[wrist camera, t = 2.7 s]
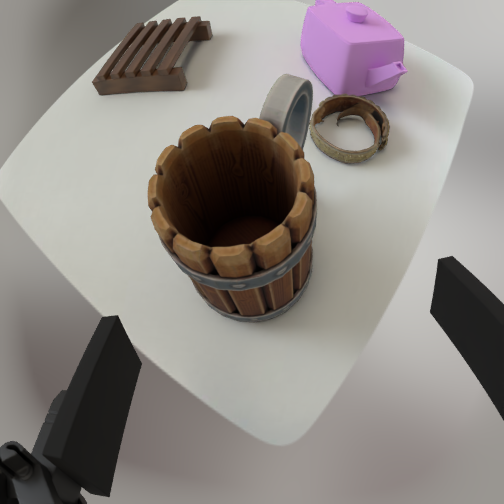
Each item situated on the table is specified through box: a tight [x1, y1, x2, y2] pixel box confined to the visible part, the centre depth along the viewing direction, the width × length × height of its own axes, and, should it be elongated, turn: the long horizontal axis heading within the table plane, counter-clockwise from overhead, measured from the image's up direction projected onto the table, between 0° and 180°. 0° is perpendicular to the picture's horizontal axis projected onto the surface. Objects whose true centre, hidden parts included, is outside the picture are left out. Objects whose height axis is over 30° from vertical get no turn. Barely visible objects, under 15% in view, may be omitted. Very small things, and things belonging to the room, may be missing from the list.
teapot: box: [301, 0, 407, 96], centre depth 31 cm, size 18×10×10 cm, turn 21°
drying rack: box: [92, 16, 212, 95], centre depth 38 cm, size 14×14×4 cm
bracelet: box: [309, 94, 390, 163], centre depth 31 cm, size 9×9×3 cm
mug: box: [148, 74, 317, 322], centre depth 22 cm, size 16×11×15 cm
